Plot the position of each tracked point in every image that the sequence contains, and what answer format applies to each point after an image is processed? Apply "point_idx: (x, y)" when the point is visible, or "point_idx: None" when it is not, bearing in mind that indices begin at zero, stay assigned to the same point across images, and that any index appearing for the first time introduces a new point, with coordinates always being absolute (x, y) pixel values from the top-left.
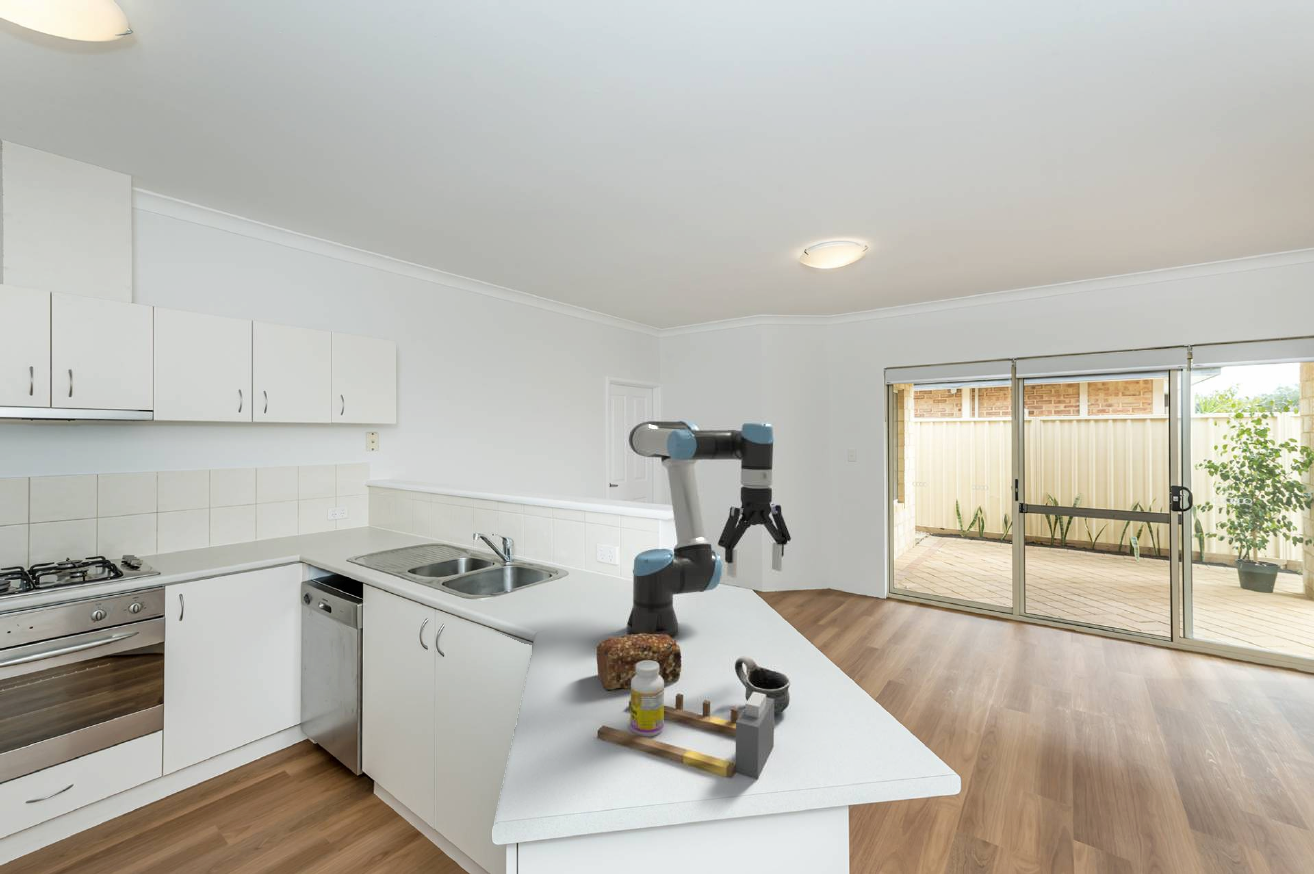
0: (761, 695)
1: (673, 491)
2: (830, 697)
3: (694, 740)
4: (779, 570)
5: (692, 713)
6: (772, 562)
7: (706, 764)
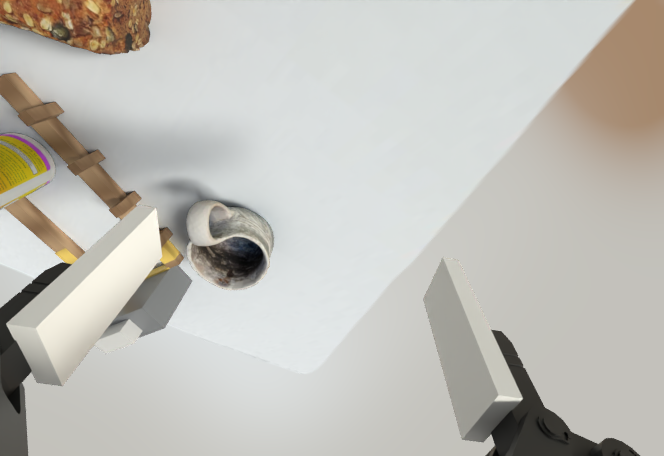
0: (125, 342)
1: None
2: (360, 257)
3: (96, 220)
4: (425, 302)
5: (105, 188)
6: (450, 283)
7: None
